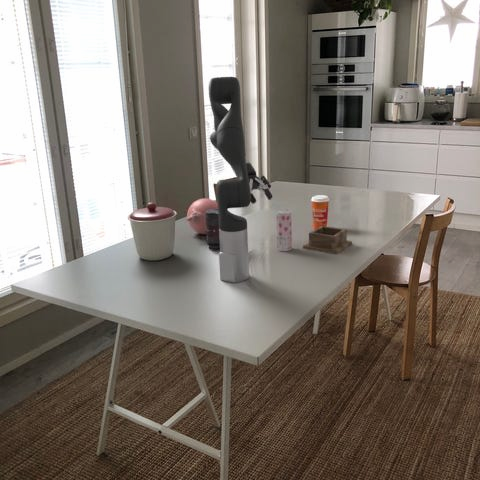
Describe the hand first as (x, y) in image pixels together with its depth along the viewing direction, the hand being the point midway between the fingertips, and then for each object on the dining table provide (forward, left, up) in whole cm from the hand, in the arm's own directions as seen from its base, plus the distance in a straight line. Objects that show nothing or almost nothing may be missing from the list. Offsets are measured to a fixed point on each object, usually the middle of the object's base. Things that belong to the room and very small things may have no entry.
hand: (263, 200), depth 204 cm
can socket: (+8, -24, -17) cm, 31 cm away
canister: (-33, +28, -18) cm, 47 cm away
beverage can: (-3, -11, -18) cm, 21 cm away
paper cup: (+28, -11, -18) cm, 35 cm away
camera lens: (-14, +13, -18) cm, 26 cm away
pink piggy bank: (-3, +29, -18) cm, 34 cm away
